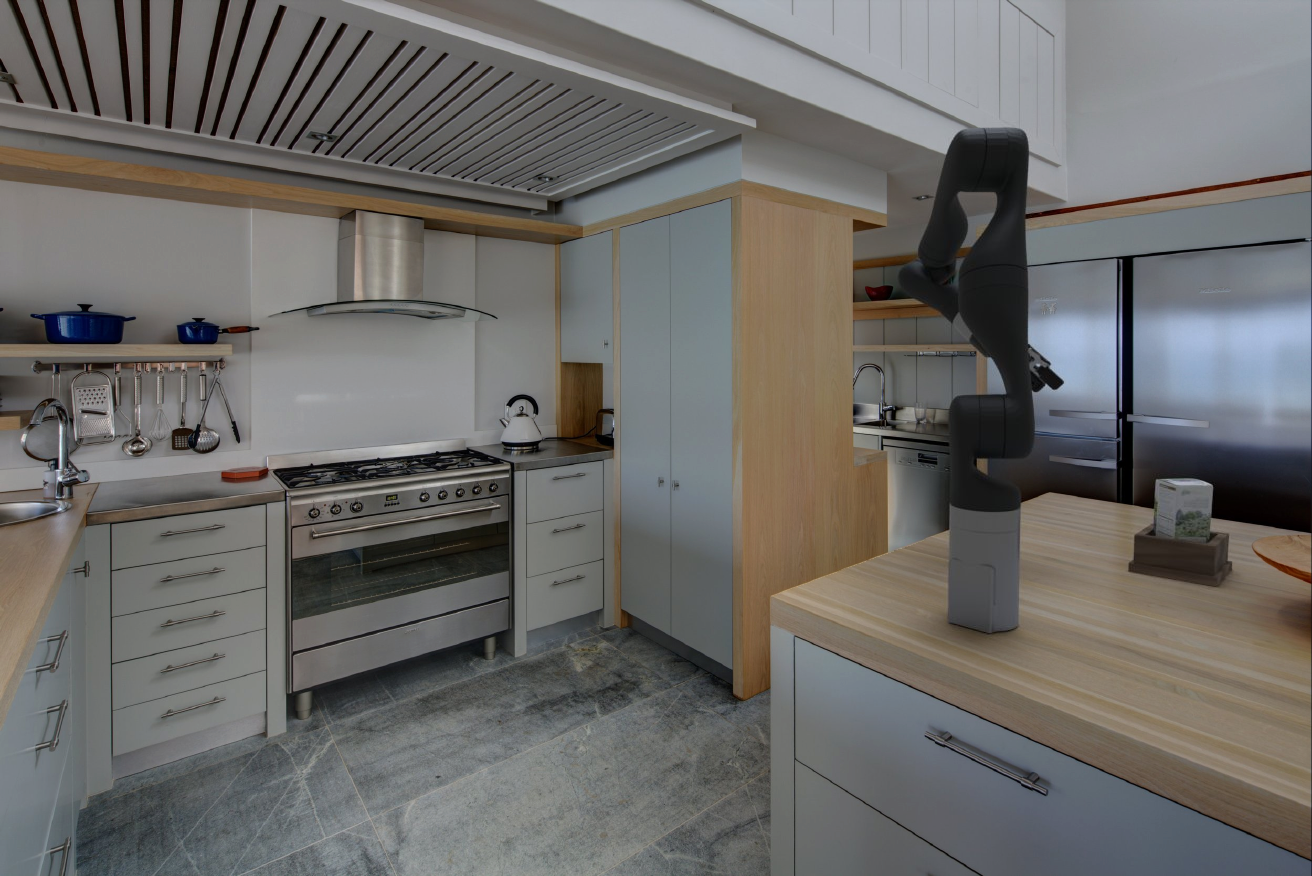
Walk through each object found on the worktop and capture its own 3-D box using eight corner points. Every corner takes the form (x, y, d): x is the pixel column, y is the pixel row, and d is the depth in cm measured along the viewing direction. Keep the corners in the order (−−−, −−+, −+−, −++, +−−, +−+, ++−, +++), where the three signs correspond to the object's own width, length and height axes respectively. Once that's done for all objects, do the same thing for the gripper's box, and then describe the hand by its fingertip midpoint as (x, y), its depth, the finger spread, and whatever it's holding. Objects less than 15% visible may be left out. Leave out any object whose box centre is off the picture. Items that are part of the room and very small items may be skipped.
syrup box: (1185, 557, 116) (1188, 477, 115) (1209, 567, 110) (1213, 483, 109) (1150, 557, 117) (1154, 477, 115) (1173, 567, 111) (1177, 483, 109)
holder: (1216, 586, 105) (1218, 547, 105) (1128, 571, 114) (1129, 535, 114) (1231, 569, 113) (1233, 533, 112) (1147, 556, 122) (1149, 522, 121)
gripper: (982, 310, 115) (1052, 373, 108) (1015, 312, 124) (1082, 371, 117) (952, 342, 120) (1017, 405, 112) (986, 342, 129) (1049, 400, 122)
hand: (1050, 387), depth 115 cm, fingers open, 8 cm apart
